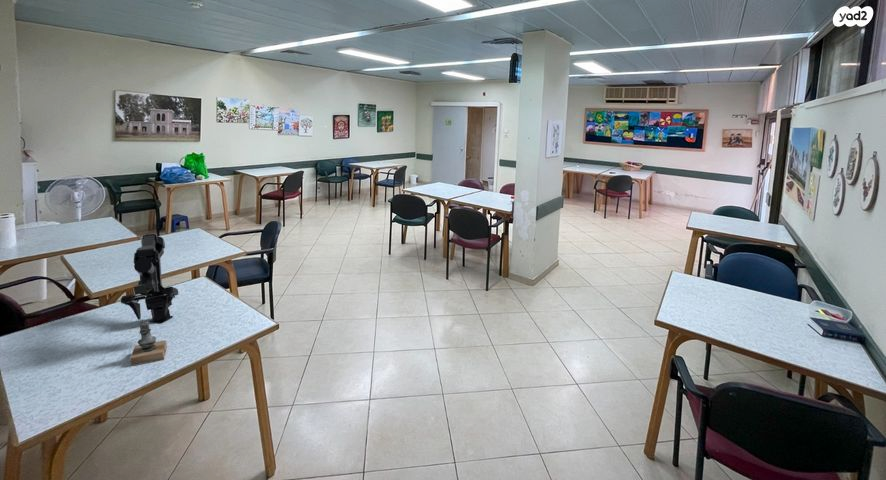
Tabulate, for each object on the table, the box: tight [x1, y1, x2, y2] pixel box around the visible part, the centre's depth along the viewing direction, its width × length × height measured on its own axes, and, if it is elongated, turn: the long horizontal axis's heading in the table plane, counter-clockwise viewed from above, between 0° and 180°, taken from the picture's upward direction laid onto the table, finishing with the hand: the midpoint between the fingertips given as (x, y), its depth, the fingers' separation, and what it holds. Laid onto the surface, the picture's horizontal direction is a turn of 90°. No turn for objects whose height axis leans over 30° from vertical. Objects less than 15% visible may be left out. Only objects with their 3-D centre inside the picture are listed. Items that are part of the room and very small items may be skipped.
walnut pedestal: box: [129, 339, 168, 366], centre depth 166 cm, size 10×10×3 cm
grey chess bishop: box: [137, 319, 157, 352], centre depth 164 cm, size 6×6×12 cm
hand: (152, 317), depth 174 cm, fingers open, 9 cm apart
